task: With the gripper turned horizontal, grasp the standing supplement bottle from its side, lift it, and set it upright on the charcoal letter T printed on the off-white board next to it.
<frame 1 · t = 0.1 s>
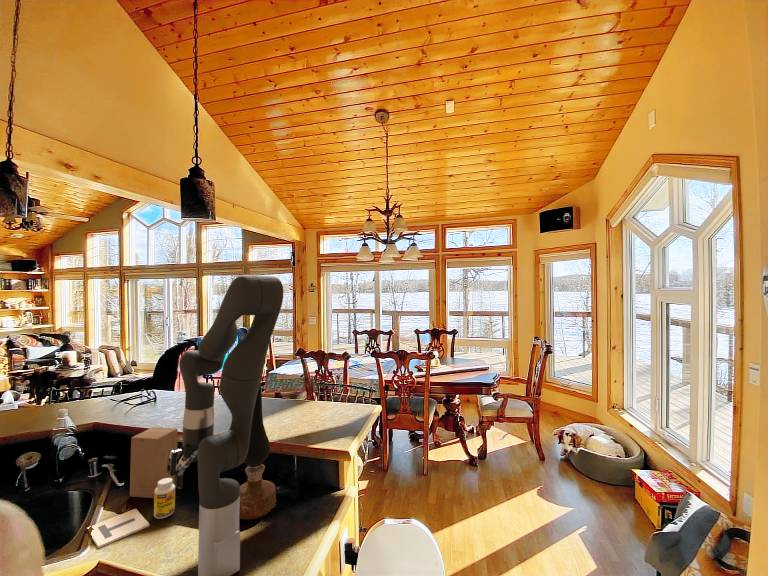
hand: (196, 480, 96), 17 cm above the worktop, tool pointing down, fingers open, 8 cm apart
wooden block: (153, 490, 123), on the worktop
supplement bottle: (164, 514, 109), on the worktop
letter board: (118, 527, 103), on the worktop
oil lamp: (254, 506, 114), on the worktop
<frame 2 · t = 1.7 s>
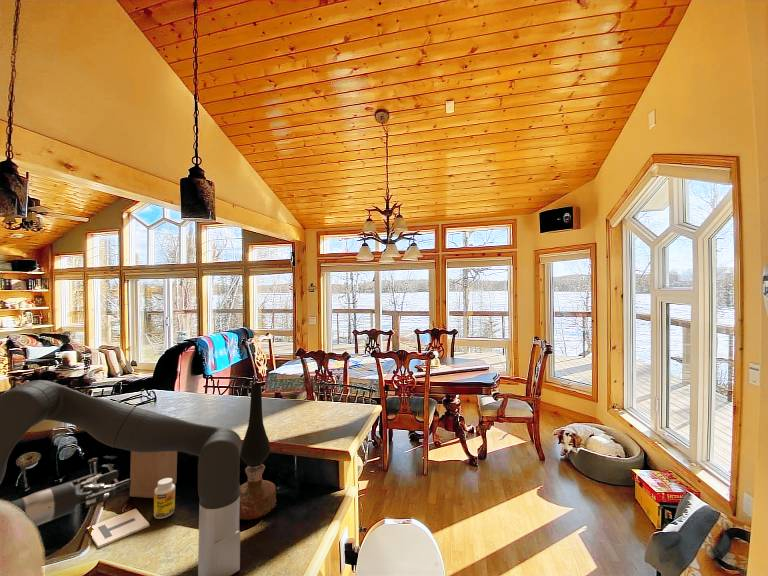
hand: (124, 478, 101), 16 cm above the worktop, tool horizontal, fingers open, 8 cm apart
nothing on the worktop moved.
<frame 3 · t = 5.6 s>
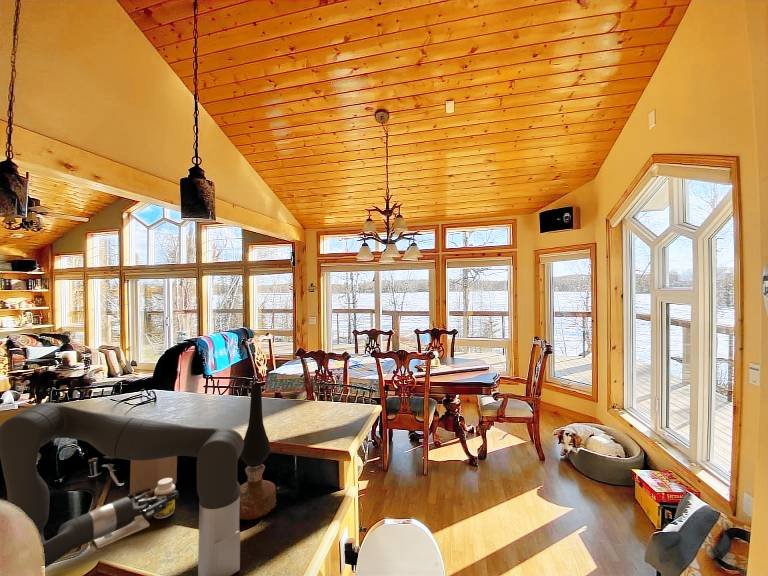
hand: (173, 490, 112), 6 cm above the worktop, tool horizontal, fingers closed on supplement bottle, 5 cm apart
supplement bottle: (164, 514, 109), on the worktop, touching gripper
everything else where it was.
when the fingers open (8 cm above the worktop, at t = 10.7 s): supplement bottle stays where it is, resting on letter board.
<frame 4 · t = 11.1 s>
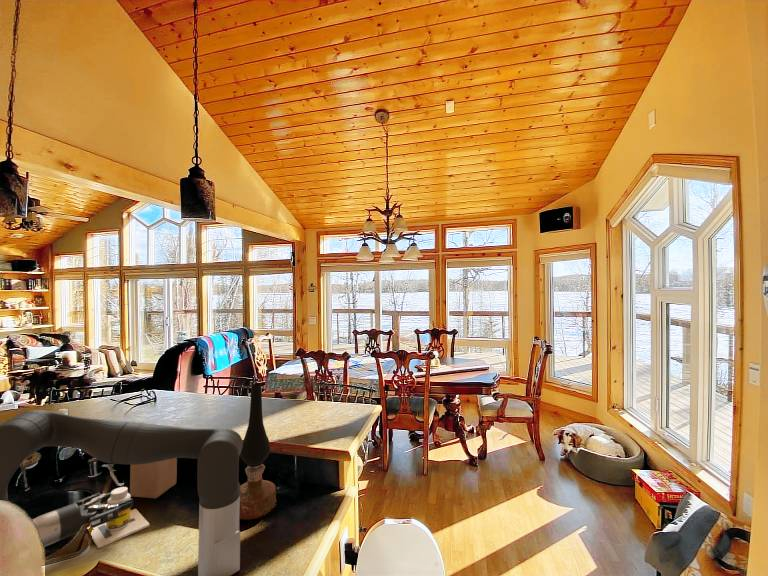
hand: (126, 497, 105), 8 cm above the worktop, tool horizontal, fingers open, 8 cm apart
supplement bottle: (118, 526, 103), resting on letter board
everything else where it was.
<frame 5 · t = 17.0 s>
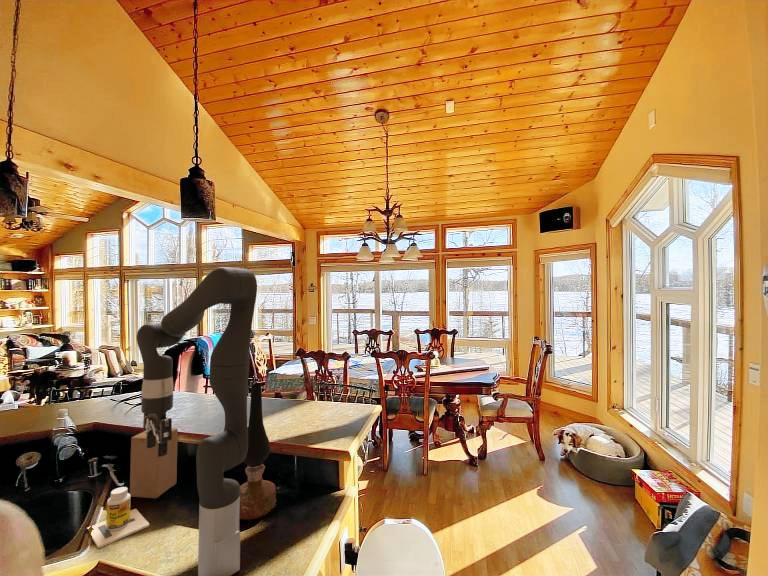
hand: (156, 451, 99), 24 cm above the worktop, tool pointing down, fingers open, 8 cm apart
nothing on the worktop moved.
at the end: supplement bottle inside the target area on the letter board (0.1 cm from its centre), point 0.4 cm above the letter board's base; supplement bottle tilted 0°; the gripper is holding nothing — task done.
